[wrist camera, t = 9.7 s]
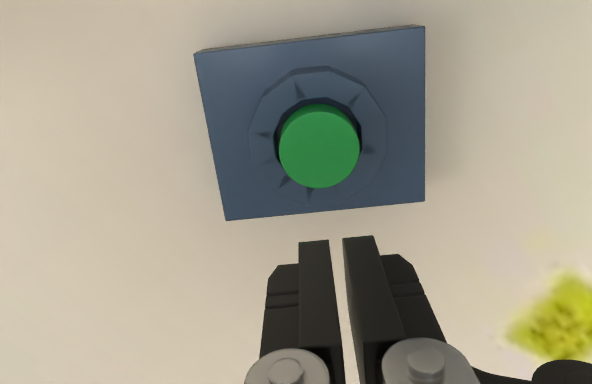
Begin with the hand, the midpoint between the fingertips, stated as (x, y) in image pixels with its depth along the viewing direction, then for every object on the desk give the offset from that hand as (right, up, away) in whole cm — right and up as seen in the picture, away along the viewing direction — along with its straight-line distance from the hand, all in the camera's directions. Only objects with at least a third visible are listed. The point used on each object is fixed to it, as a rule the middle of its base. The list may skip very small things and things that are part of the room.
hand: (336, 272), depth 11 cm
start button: (0, +4, +10) cm, 11 cm away
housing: (0, +6, +14) cm, 15 cm away
